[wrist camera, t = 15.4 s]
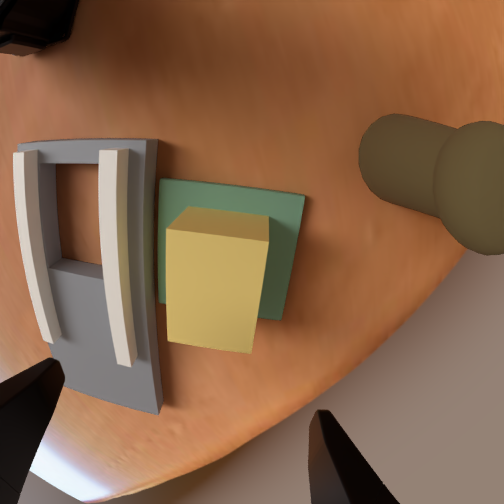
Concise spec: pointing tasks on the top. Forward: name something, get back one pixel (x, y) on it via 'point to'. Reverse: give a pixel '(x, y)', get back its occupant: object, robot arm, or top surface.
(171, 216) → the felt mat
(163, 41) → the top surface
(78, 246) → the top surface
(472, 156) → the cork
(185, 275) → the brick
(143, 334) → the channel deck
